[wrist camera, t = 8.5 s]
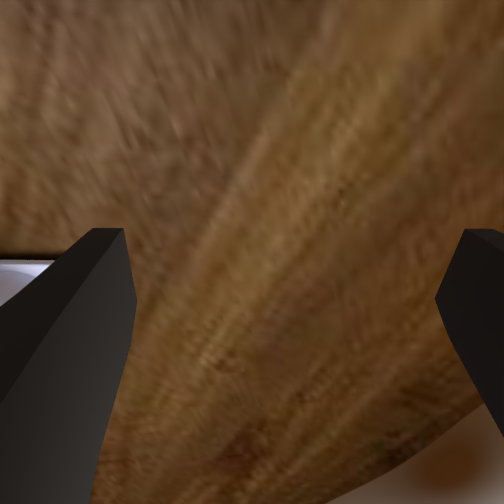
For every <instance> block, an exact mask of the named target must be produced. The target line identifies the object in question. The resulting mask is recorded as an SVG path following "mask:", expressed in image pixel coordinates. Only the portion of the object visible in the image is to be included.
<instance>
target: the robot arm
mask: <svg viewBox="0 0 504 504" xmlns="http://www.w3.org/2000/svg"><path fill="white" fill-rule="evenodd" d="M435 300H436V303H437V306H438V309H439V312H440V315H441V318H442V321H443V323H444V326H445V328H446V331H447V333H448V336H449V338H450V340H451V342H452V344H453V346H454V348H455V350H456V352H457V353H458V355H459V357H460V359H461V361H462V363H463V365H464V366H465V368H466V370H467V372H468V374H469V376H470V377H471V379H472V381H473V383H474V385H475V386H476V388H477V390H478V392H479V394H480V395H481V397H482V399H483V401H484V403H485V404H486V406H487V408H488V410H489V412H490V413H491V415H492V417H493V419H494V421H495V422H496V424H497V426H498V428H499V429H500V431H501V433H502V435H503V437H504V234H503V233H501V232H498V231H496V230H494V229H465V230H464V232H463V234H462V237H461V239H460V241H459V244H458V246H457V248H456V250H455V253H454V255H453V257H452V260H451V262H450V264H449V267H448V269H447V271H446V273H445V276H444V278H443V280H442V283H441V285H440V287H439V290H438V292H437V294H436V297H435ZM136 305H137V298H136V293H135V288H134V282H133V277H132V272H131V266H130V261H129V256H128V250H127V245H126V240H125V234H124V229H123V228H92V229H91V230H90V231H89V232H87V233H86V234H85V235H84V236H83V237H81V238H80V239H79V240H78V241H77V242H76V243H75V244H73V245H72V246H71V247H70V248H69V249H68V250H67V251H66V252H64V253H63V254H62V255H61V256H60V257H59V258H58V259H56V260H0V504H89V501H90V496H91V490H92V485H93V480H94V475H95V470H96V466H97V462H98V458H99V454H100V450H101V446H102V442H103V439H104V435H105V432H106V428H107V425H108V421H109V418H110V414H111V411H112V408H113V404H114V401H115V397H116V394H117V390H118V387H119V383H120V380H121V376H122V373H123V369H124V366H125V362H126V359H127V355H128V351H129V348H130V344H131V338H132V332H133V326H134V319H135V312H136Z"/></svg>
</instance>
